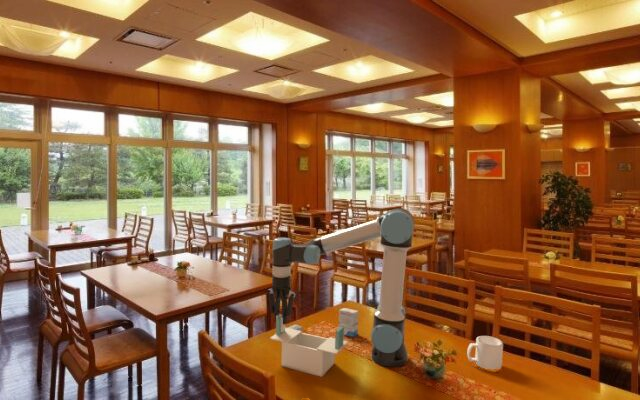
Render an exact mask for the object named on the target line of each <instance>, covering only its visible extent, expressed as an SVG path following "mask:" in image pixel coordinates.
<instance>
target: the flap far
mask: <svg viewBox="0 0 640 400" xmlns="http://www.w3.org/2000/svg"><path fill="white" fill-rule="evenodd" d="M281 316H282V314H281ZM281 316H279V317H278V318H276V322H275V333H274V335H272V336H271V337H270V338H269V340H271V341H272V340H273V341H277V342H281V343H282V342H284V343H289V342H290V341H291V340H292V339H294V338H295V337H296V336H298V335H299V334H300V333H303V330H302V331H299V330H294V329H289V328H288V327H285V331H283V332H280V331H281Z"/></svg>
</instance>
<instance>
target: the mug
mask: <svg viewBox="0 0 640 400" xmlns="http://www.w3.org/2000/svg"><path fill="white" fill-rule="evenodd" d="M473 348H475V355H474V357H472V356H471V354H472V350H473ZM503 349H504V342H503V341H502V340H501V339H499V338H497V337H494V336H491V335H490V336H489V335H479V336H477V337H476V339H475V343H474V342H473V343H471V342H470V343H469V345H468V347H467V351H466V352H467V353H466V355H467V358H468V361H469V362H473V363H475V362H476V364H477V365H478V366H480V367H482V368H485V369H491V370H494V369H500V368H501V367H502V368H503V353H504V352H503V351H504V350H503Z"/></svg>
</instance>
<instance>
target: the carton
mask: <svg viewBox="0 0 640 400" xmlns="http://www.w3.org/2000/svg"><path fill="white" fill-rule="evenodd" d="M328 338H329V337H327V338H326V337H323V336H319V335H314V334H309V333H305V332H302V333H300V334H299V335H298V336H296V337H295V338H294V339H292V340H291V341H290V342H289V343H284V342H281V364H280V365H281V367H283V368H287V369H291V370H293V371H294V370H295V371H298V372H301V373H306V374H309V375H313V376H317V377H321V378H323V376H324V375H326V374H327V372H328V371H329V370H330V369H331V368H332V367H333V366H334V364H335V356H336V355H335V354H331V353H327V352H322V351H318V350H317V348H318V347H319V346H320V345H321V344H323V343H324V342H325V341H326V340H327V339H328Z"/></svg>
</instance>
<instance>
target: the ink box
mask: <svg viewBox="0 0 640 400" xmlns="http://www.w3.org/2000/svg"><path fill="white" fill-rule="evenodd" d="M338 312H339V314H338V328H339V327H340V326H341V327H344V336H347V337H349V338H350V337H351V338H355V337H356V336H358V334H359V330H358V329H359V310H356V309H351V308H348V307H347V308H346V307H343V308H340V309H339V311H338Z"/></svg>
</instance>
